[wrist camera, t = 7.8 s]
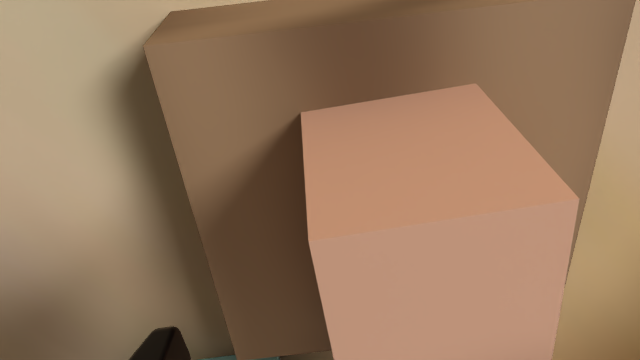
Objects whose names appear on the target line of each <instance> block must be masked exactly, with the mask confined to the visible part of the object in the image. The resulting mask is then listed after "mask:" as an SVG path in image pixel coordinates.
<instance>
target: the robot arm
mask: <svg viewBox="0 0 640 360" xmlns="http://www.w3.org/2000/svg"><path fill="white" fill-rule="evenodd" d="M129 360H191V358H190V354H189V351H188V349H187V347H186V344H185V342H184V339H183V337H182V335H181V332H180V330H179V329H178V328H177V327H174V326H173V327H165V328H158V329H155V330H154V331H152V332H151V333H150V335H149V336H148V337H147V338H146V339H145V341H144V342H143V343H142V344H141V346H140V347H139V348H138V349H137V350H136V352H135V353H134V354H133V355H132V357H131V358H130V359H129Z"/></svg>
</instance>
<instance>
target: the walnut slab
mask: <svg viewBox="0 0 640 360" xmlns="http://www.w3.org/2000/svg"><path fill="white" fill-rule="evenodd" d="M635 1H636V0H268V1H260V2H251V3H242V4H233V5H225V6H216V7H207V8H198V9H190V10H181V11H172V12H170V13H169V15H168V16H167V17H166V18H165V20H164V21H163V22H162V23H161V24H160V26H159V27H158V28H157V29H156V31H155V32H154V33H153V34H152V36H151V37H150V38H149V39H148V40H147V42H146V43H145V44H144V45H143V48H144V51H145V55H146V58H147V61H148V65H149V68H150V71H151V75H152V78H153V81H154V85H155V88H156V91H157V95H158V98H159V101H160V105H161V108H162V111H163V115H164V118H165V121H166V125H167V128H168V131H169V135H170V138H171V141H172V145H173V148H174V151H175V155H176V158H177V161H178V165H179V168H180V171H181V175H182V178H183V181H184V185H185V188H186V191H187V195H188V198H189V201H190V205H191V208H192V211H193V215H194V218H195V221H196V225H197V228H198V231H199V235H200V238H201V241H202V245H203V248H204V251H205V255H206V258H207V261H208V265H209V268H210V272H211V275H212V278H213V282H214V285H215V288H216V292H217V295H218V298H219V302H220V305H221V308H222V312H223V315H224V318H225V322H226V325H227V328H228V332H229V335H230V338H231V342H232V345H233V348H234V352H235V355H236V358H237V360H251V359H260V358H268V357H277V356H286V355H295V354H304V353H312V352H321V351H330V350H332V348H331V344H330V339H329V334H328V330H327V325H326V320H325V316H324V311H323V307H322V302H321V297H320V293H319V288H318V283H317V279H316V274H315V270H314V265H313V260H312V256H311V251H310V246H309V242H308V226H307V209H306V193H305V176H304V159H303V142H302V125H301V112H307V111H313V110H319V109H325V108H331V107H337V106H343V105H349V104H355V103H361V102H367V101H373V100H379V99H385V98H391V97H397V96H403V95H409V94H415V93H421V92H427V91H433V90H439V89H445V88H451V87H457V86H463V85H469V84H475V83H476V84H477V85H478V86H479V87H480V88H481V90H482V91H483V92H484V93H485V94H486V95H487V96H488V97H489V98H490V100H491V101H492V102H493V103H494V104H495V105H496V106H497V107H498V108H499V110H500V111H501V112H502V113H503V114H504V115H505V116H506V117H507V119H508V120H509V121H510V122H511V123H512V124H513V125H514V126H515V127H516V129H517V130H518V131H519V132H520V133H521V134H522V135H523V136H524V137H525V139H526V140H527V141H528V142H529V143H530V144H531V145H532V146H533V148H534V149H535V150H536V151H537V152H538V153H539V154H540V155H541V156H542V158H543V159H544V160H545V161H546V162H547V163H548V164H549V165H550V166H551V168H552V169H553V170H554V171H555V172H556V173H557V174H558V175H559V177H560V178H561V179H562V180H563V181H564V182H565V183H566V184H567V185H568V187H569V188H570V189H571V190H572V191H573V192H574V193H575V194H576V195H577V197H578V198H579V204H578V210H577V216H576V222H575V228H574V234H573V240H572V246H571V251H570V257H569V263H568V269H567V275H566V280H567V276H568V271H569V267H570V263H571V259H572V255H573V251H574V247H575V243H576V239H577V235H578V231H579V227H580V223H581V219H582V215H583V211H584V207H585V203H586V199H587V195H588V191H589V187H590V183H591V179H592V175H593V171H594V167H595V162H596V158H597V154H598V150H599V146H600V142H601V138H602V134H603V130H604V126H605V122H606V118H607V114H608V110H609V106H610V102H611V98H612V94H613V90H614V86H615V82H616V78H617V74H618V70H619V66H620V62H621V57H622V53H623V49H624V45H625V41H626V37H627V33H628V29H629V25H630V21H631V17H632V13H633V9H634V5H635ZM565 284H566V281H565ZM564 288H565V287H564Z"/></svg>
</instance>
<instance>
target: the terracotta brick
mask: <svg viewBox="0 0 640 360" xmlns="http://www.w3.org/2000/svg"><path fill="white" fill-rule="evenodd" d="M301 125H302V142H303V159H304V176H305V193H306V209H307V226H308V242H309V246H310V251H311V256H312V260H313V265H314V270H315V274H316V279H317V283H318V288H319V293H320V297H321V302H322V307H323V311H324V316H325V320H326V325H327V330H328V334H329V339H330V344H331V348H332V353H333V358H334V360H552V357H553V351H554V345H555V339H556V333H557V328H558V322H559V316H560V310H561V304H562V298H563V292H564V287H565V281H566V275H567V269H568V263H569V257H570V251H571V246H572V240H573V234H574V228H575V222H576V216H577V210H578V204H579V198H578V197H577V195H576V194H575V193H574V192H573V191H572V190H571V189H570V188H569V187H568V185H567V184H566V183H565V182H564V181H563V180H562V179H561V178H560V177H559V175H558V174H557V173H556V172H555V171H554V170H553V169H552V168H551V166H550V165H549V164H548V163H547V162H546V161H545V160H544V159H543V158H542V156H541V155H540V154H539V153H538V152H537V151H536V150H535V149H534V148H533V146H532V145H531V144H530V143H529V142H528V141H527V140H526V139H525V137H524V136H523V135H522V134H521V133H520V132H519V131H518V130H517V129H516V127H515V126H514V125H513V124H512V123H511V122H510V121H509V120H508V119H507V117H506V116H505V115H504V114H503V113H502V112H501V111H500V110H499V108H498V107H497V106H496V105H495V104H494V103H493V102H492V101H491V100H490V98H489V97H488V96H487V95H486V94H485V93H484V92H483V91H482V90H481V88H480V87H479V86H478V85H477V84H476V83H475V84H469V85H463V86H457V87H451V88H445V89H439V90H433V91H427V92H421V93H415V94H409V95H403V96H397V97H391V98H385V99H379V100H373V101H367V102H361V103H355V104H349V105H343V106H337V107H331V108H325V109H319V110H313V111H307V112H301Z"/></svg>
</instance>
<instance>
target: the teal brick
mask: <svg viewBox="0 0 640 360" xmlns="http://www.w3.org/2000/svg"><path fill="white" fill-rule="evenodd" d="M199 360H237V358H236V355H231V356H223V357H215V358H207V359H199ZM251 360H280V358H279V356H277V357H268V358H260V359H251Z"/></svg>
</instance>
